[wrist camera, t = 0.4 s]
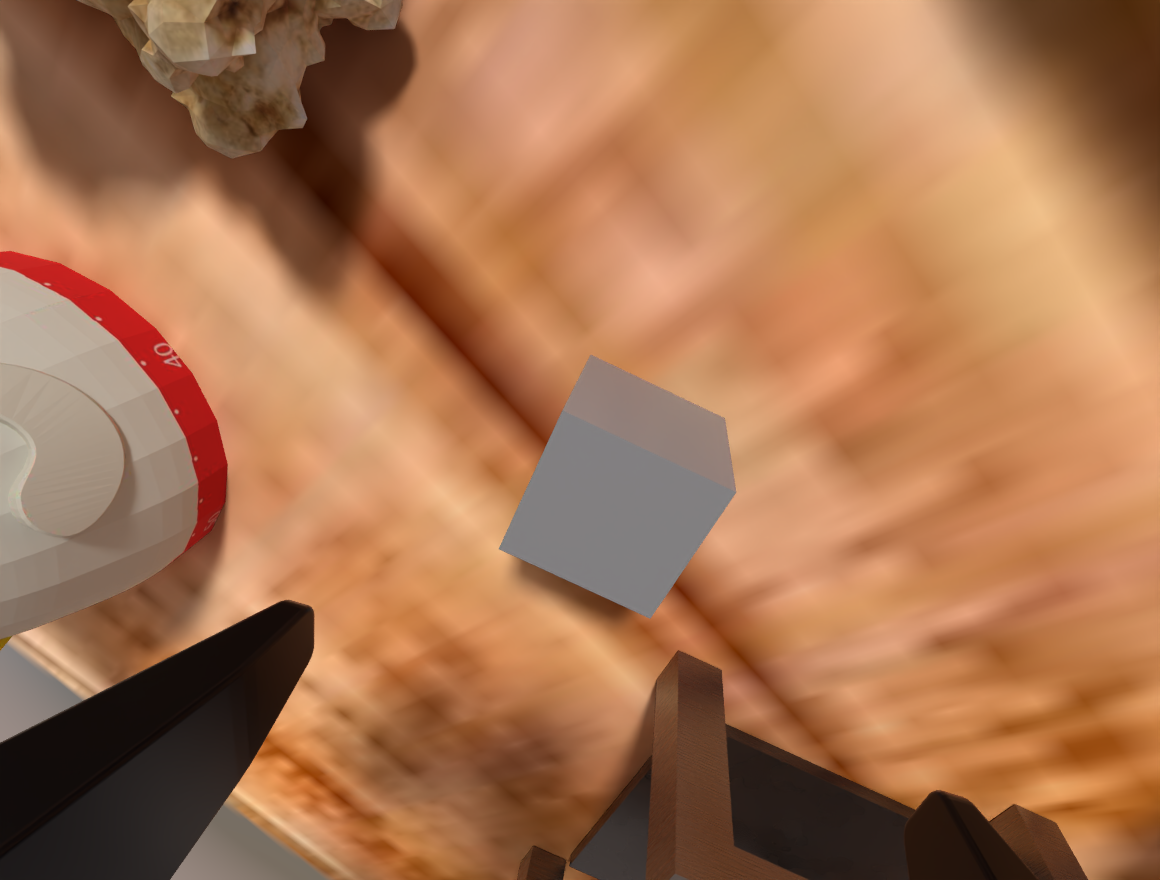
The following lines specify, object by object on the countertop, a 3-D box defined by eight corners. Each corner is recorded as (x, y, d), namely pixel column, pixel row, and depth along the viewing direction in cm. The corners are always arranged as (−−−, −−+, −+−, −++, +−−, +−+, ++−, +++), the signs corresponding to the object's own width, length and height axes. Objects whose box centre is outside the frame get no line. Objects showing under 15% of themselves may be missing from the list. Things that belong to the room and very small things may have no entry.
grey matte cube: (724, 417, 19) (736, 492, 15) (657, 525, 22) (650, 618, 17) (591, 354, 19) (562, 410, 15) (537, 469, 22) (498, 549, 17)
